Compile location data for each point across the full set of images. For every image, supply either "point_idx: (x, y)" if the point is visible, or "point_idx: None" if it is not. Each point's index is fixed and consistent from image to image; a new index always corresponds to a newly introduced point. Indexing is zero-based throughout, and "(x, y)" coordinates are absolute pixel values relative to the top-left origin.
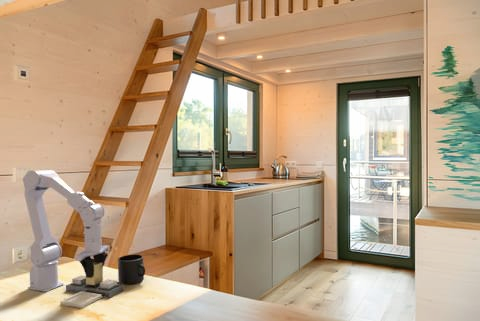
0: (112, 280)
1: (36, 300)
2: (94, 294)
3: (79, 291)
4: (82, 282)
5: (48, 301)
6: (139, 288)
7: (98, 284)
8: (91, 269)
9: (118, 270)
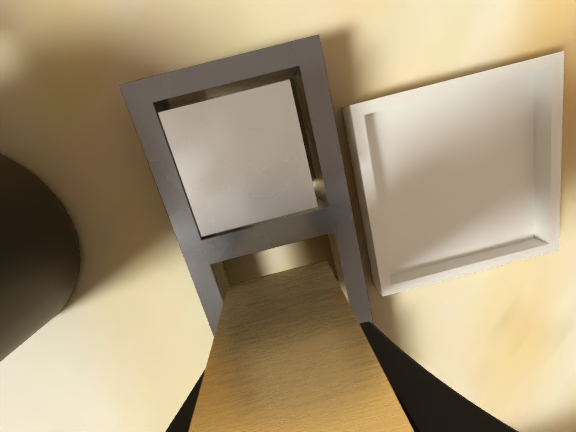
0: (191, 160)
1: (536, 397)
2: (371, 167)
3: None
4: None
5: (524, 340)
6: (6, 2)
7: None
8: (427, 388)
9: None
